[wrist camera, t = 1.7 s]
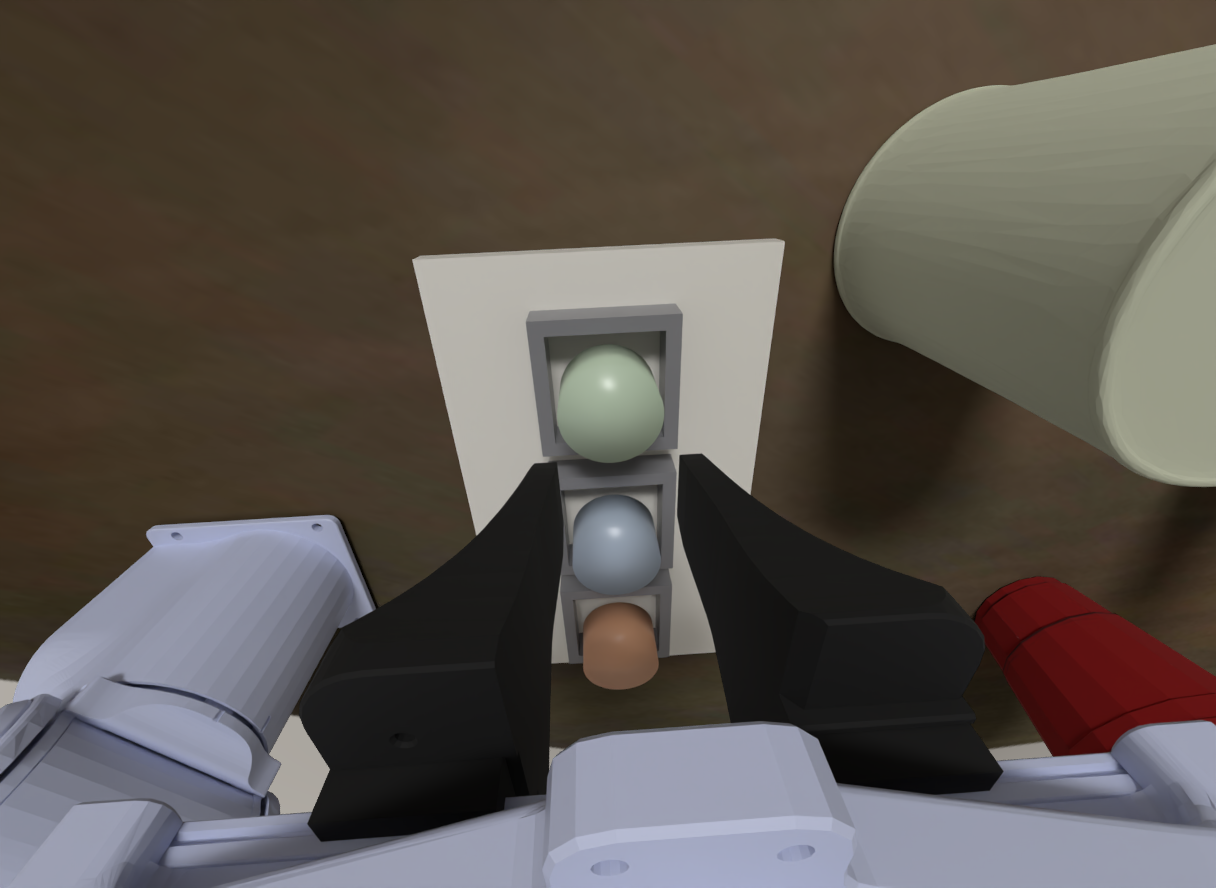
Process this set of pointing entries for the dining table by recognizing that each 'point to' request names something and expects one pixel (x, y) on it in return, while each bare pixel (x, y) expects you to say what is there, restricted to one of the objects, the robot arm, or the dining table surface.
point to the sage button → (609, 404)
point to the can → (1058, 253)
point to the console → (572, 322)
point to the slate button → (615, 545)
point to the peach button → (619, 646)
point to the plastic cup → (1087, 667)
